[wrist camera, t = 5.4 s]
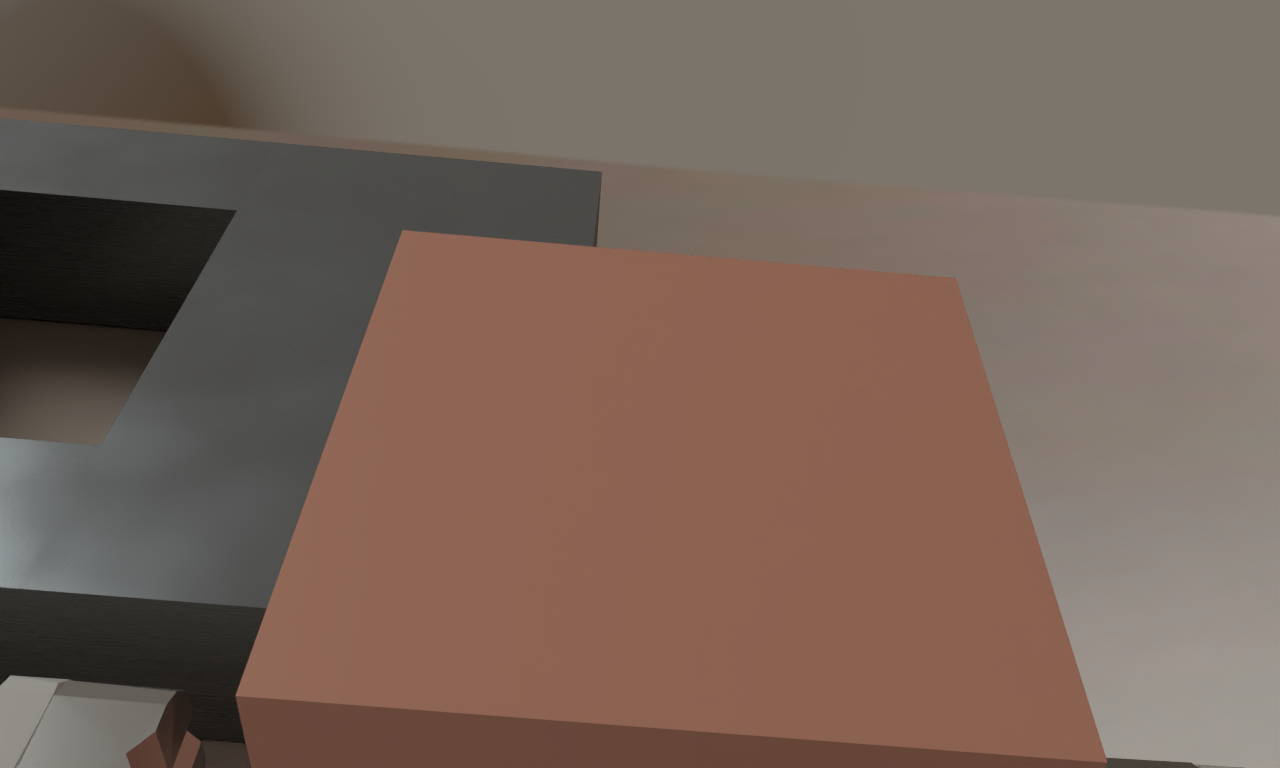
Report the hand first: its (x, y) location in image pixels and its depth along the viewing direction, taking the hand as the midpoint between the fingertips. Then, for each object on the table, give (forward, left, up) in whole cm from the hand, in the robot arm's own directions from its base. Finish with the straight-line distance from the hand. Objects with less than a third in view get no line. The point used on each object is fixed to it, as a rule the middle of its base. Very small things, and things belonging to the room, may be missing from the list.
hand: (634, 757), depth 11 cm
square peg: (0, +1, -6) cm, 6 cm away
